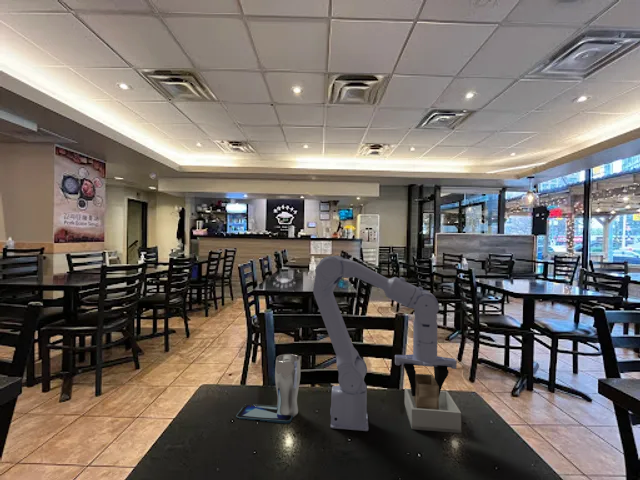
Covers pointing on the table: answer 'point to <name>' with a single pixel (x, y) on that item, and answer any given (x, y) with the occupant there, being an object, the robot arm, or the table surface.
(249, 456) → the table surface
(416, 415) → the storage crate
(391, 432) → the table surface
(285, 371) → the beer glass
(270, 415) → the smartphone
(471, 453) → the table surface
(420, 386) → the wood crate
